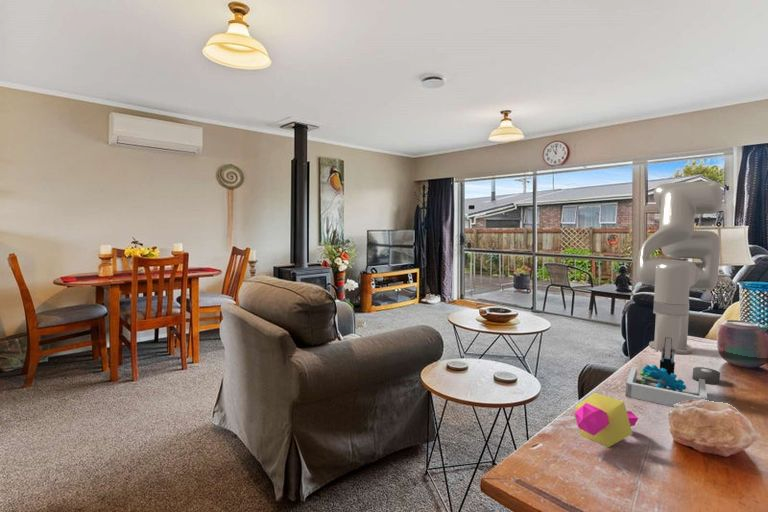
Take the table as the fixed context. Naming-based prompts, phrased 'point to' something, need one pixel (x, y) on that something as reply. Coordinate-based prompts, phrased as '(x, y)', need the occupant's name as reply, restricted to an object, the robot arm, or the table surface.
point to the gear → (661, 378)
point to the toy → (604, 419)
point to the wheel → (706, 375)
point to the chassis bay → (660, 391)
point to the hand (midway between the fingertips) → (666, 376)
